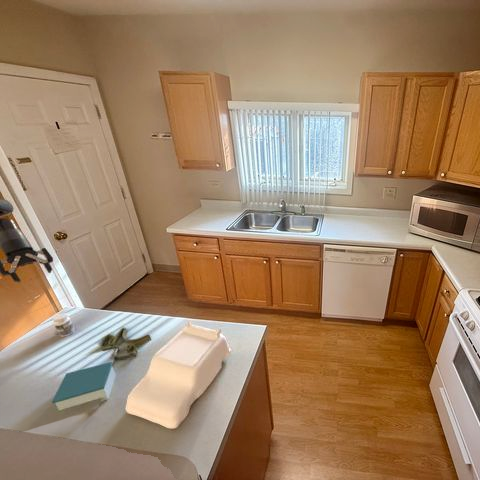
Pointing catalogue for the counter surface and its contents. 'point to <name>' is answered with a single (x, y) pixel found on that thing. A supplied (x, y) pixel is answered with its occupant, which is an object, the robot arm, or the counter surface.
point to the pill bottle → (63, 324)
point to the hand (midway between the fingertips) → (35, 276)
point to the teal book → (85, 386)
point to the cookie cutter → (129, 348)
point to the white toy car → (178, 375)
